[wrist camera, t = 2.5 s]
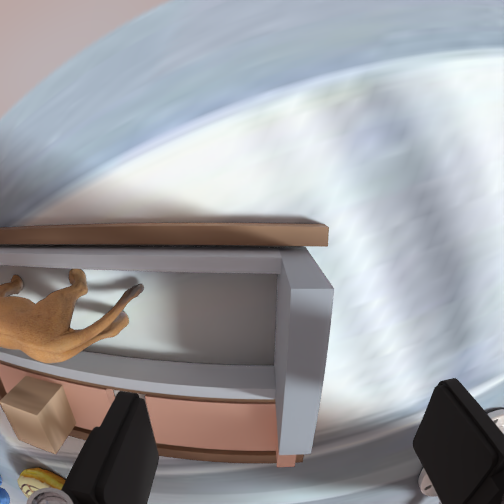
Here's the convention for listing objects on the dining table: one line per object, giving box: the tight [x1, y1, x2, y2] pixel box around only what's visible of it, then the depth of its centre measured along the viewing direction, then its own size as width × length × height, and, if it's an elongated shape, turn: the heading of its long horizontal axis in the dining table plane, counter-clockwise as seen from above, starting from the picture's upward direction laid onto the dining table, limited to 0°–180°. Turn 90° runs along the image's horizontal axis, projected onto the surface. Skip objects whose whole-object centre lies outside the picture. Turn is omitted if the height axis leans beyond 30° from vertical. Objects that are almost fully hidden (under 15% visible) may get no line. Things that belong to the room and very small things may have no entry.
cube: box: [0, 376, 76, 454], centre depth 18 cm, size 4×4×4 cm
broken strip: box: [0, 362, 296, 467], centre depth 19 cm, size 5×26×3 cm, turn 89°
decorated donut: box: [17, 468, 66, 498], centre depth 23 cm, size 10×11×4 cm
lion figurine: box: [0, 269, 144, 363], centre depth 14 cm, size 15×5×9 cm, turn 103°
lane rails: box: [0, 223, 329, 463], centre depth 19 cm, size 18×28×1 cm, turn 90°
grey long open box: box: [0, 245, 334, 455], centre depth 15 cm, size 8×26×7 cm, turn 90°
